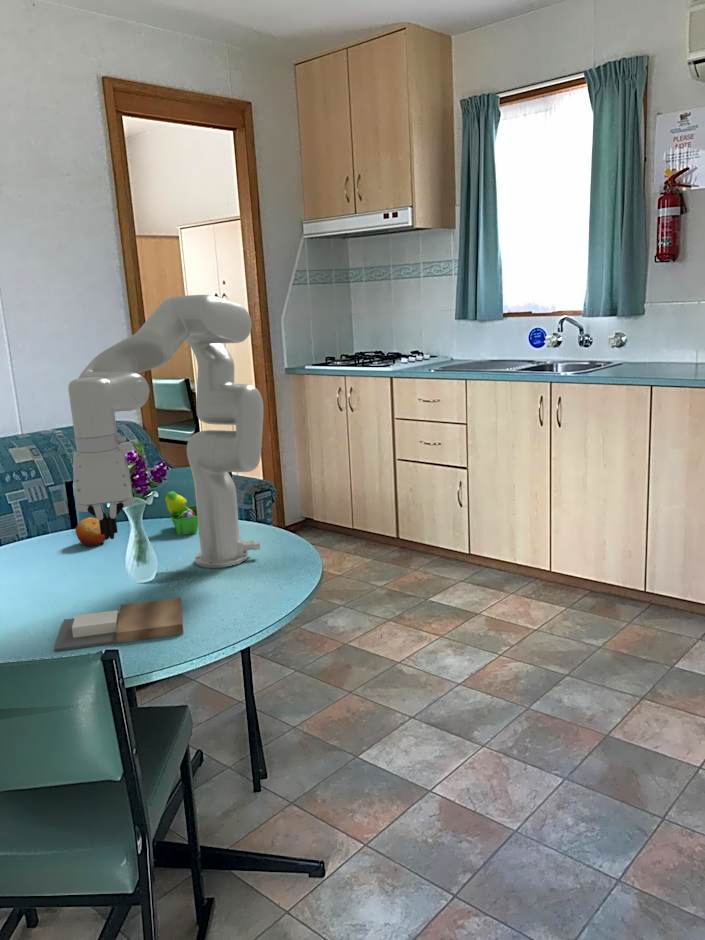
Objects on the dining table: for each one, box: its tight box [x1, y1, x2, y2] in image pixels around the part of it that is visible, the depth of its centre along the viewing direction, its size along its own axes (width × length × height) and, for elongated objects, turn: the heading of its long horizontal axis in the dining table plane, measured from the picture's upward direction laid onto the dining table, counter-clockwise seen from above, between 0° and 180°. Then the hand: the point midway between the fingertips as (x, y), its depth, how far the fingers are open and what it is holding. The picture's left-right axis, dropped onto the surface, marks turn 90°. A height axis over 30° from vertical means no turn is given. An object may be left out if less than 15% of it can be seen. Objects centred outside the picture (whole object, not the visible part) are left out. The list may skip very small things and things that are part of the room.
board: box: [116, 597, 184, 644], centre depth 152 cm, size 12×14×2 cm
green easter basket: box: [164, 490, 199, 535], centre depth 214 cm, size 11×9×11 cm
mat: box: [54, 611, 119, 652], centre depth 150 cm, size 11×14×1 cm
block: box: [72, 610, 119, 638], centre depth 150 cm, size 8×6×2 cm
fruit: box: [75, 516, 106, 547], centre depth 205 cm, size 8×8×8 cm
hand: (109, 537), depth 150 cm, fingers closed
